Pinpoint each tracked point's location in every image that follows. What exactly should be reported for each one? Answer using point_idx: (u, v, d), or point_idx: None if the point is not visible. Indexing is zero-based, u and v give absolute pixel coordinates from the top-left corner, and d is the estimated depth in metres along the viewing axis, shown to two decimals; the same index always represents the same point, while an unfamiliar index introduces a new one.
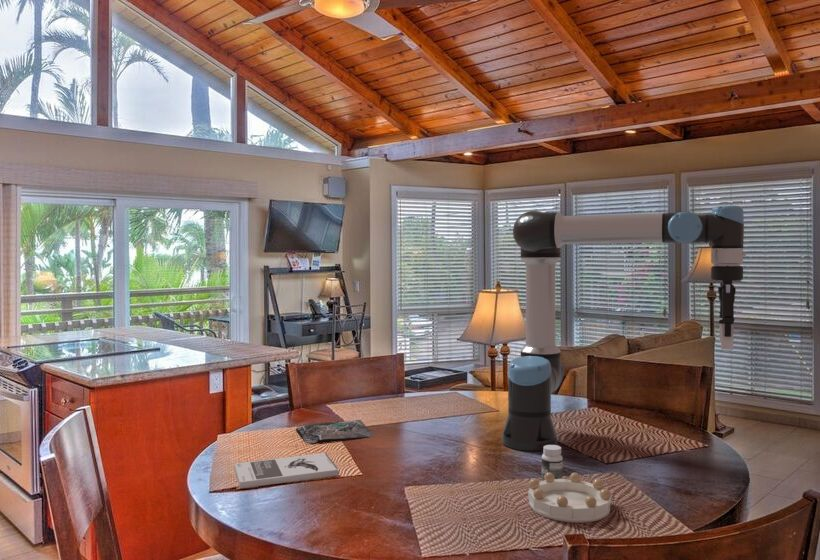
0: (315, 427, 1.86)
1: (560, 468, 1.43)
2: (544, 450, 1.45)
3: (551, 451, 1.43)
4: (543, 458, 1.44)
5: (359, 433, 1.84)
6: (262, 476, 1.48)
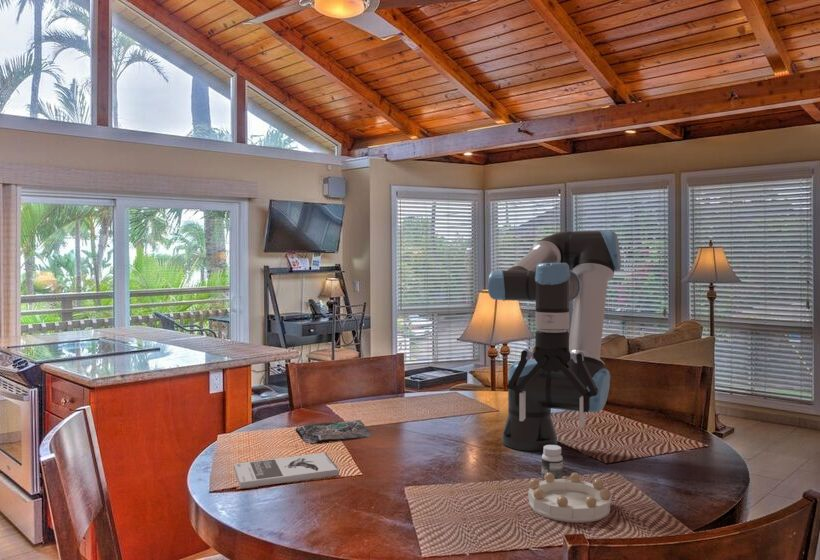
0: (315, 427, 1.86)
1: (560, 468, 1.43)
2: (544, 450, 1.45)
3: (551, 451, 1.43)
4: (543, 458, 1.44)
5: (358, 434, 1.84)
6: (262, 476, 1.48)
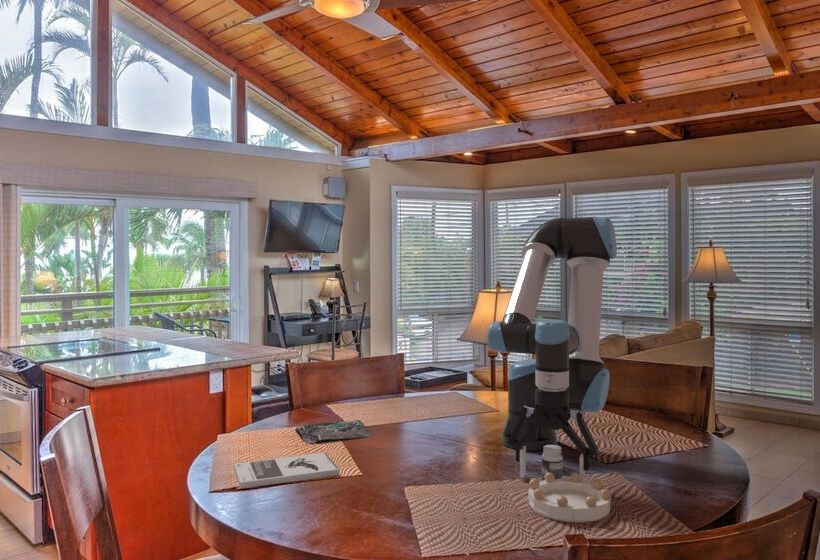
0: (314, 427, 1.86)
1: (560, 468, 1.43)
2: (544, 450, 1.45)
3: (551, 451, 1.43)
4: (543, 458, 1.44)
5: (358, 434, 1.84)
6: (262, 476, 1.47)
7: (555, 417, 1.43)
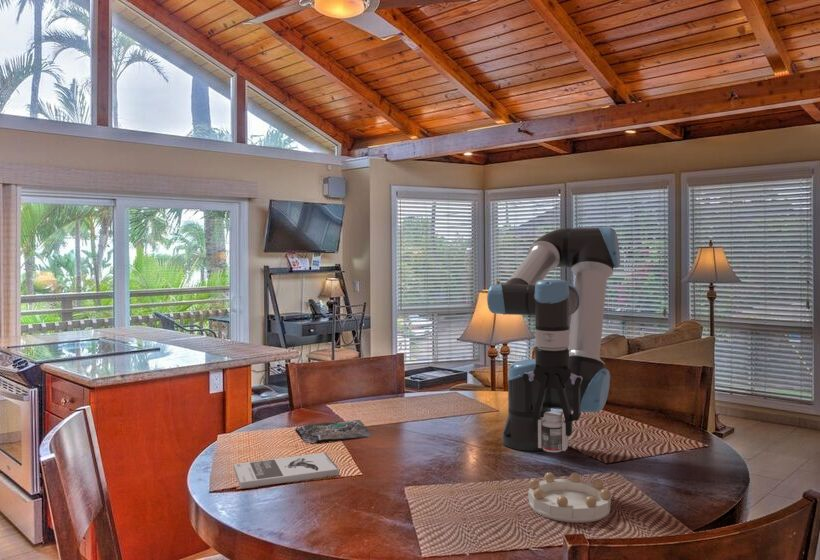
0: (314, 427, 1.86)
1: (560, 434, 1.43)
2: (544, 416, 1.45)
3: (552, 417, 1.43)
4: (543, 424, 1.44)
5: (358, 434, 1.84)
6: (262, 476, 1.47)
7: (556, 376, 1.42)
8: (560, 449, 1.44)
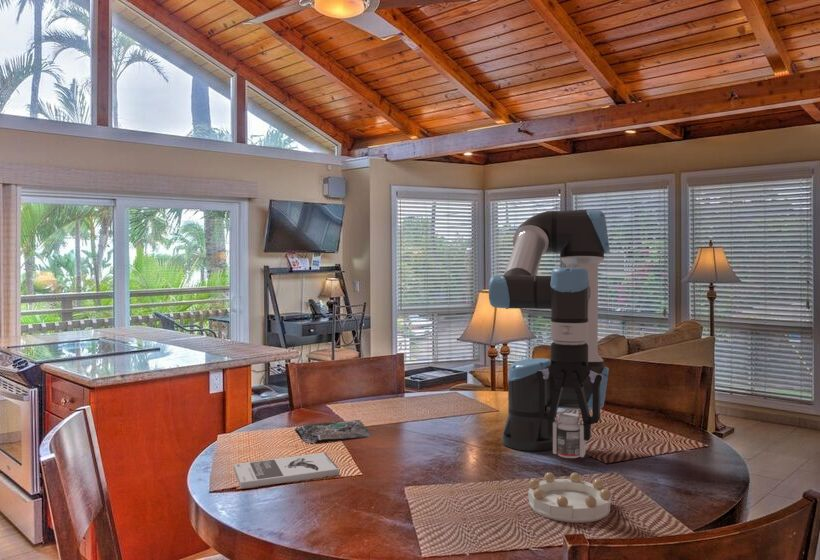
0: (314, 427, 1.86)
1: (578, 438, 1.29)
2: (560, 418, 1.31)
3: (568, 419, 1.29)
4: (559, 427, 1.30)
5: (358, 434, 1.84)
6: (262, 476, 1.47)
7: (573, 373, 1.29)
8: (578, 454, 1.29)
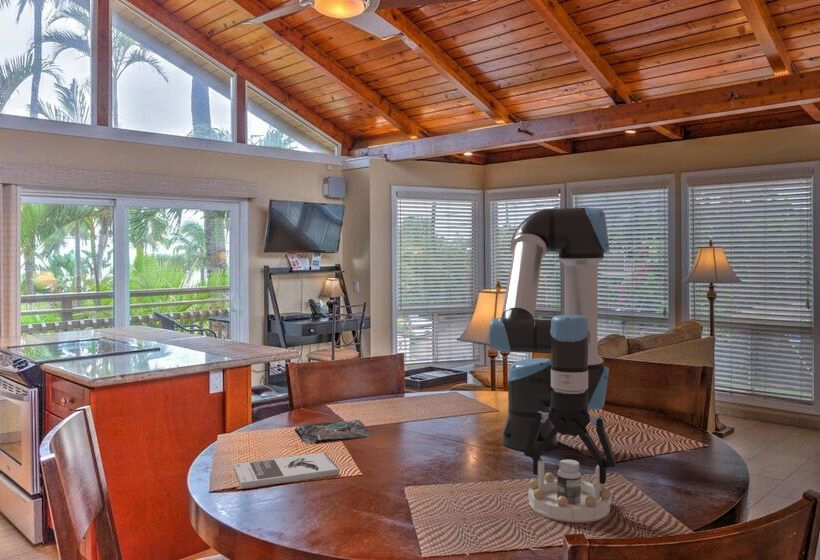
0: (314, 427, 1.86)
1: (578, 486, 1.30)
2: (560, 466, 1.31)
3: (568, 467, 1.29)
4: (559, 474, 1.31)
5: (358, 434, 1.84)
6: (263, 476, 1.47)
7: (573, 422, 1.29)
8: (578, 502, 1.30)
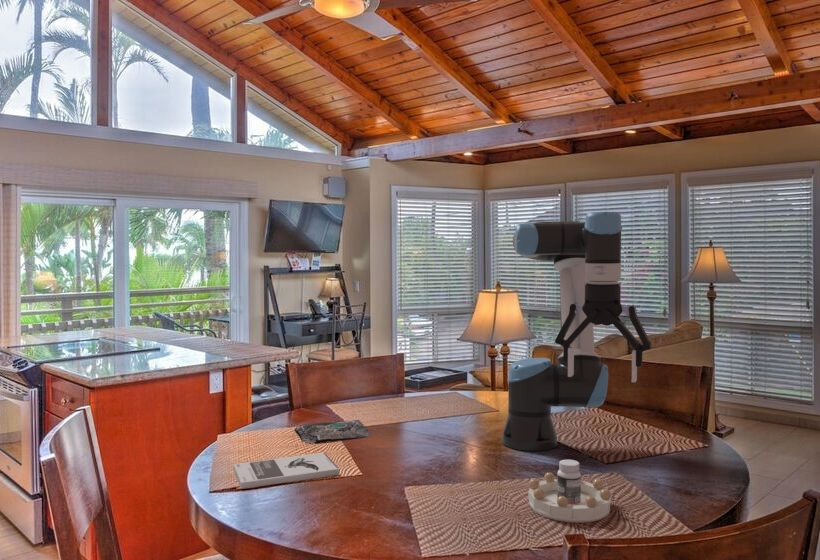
0: (314, 427, 1.86)
1: (578, 486, 1.30)
2: (560, 466, 1.31)
3: (568, 467, 1.29)
4: (559, 474, 1.31)
5: (357, 434, 1.85)
6: (263, 476, 1.47)
7: (606, 311, 1.36)
8: (578, 502, 1.30)
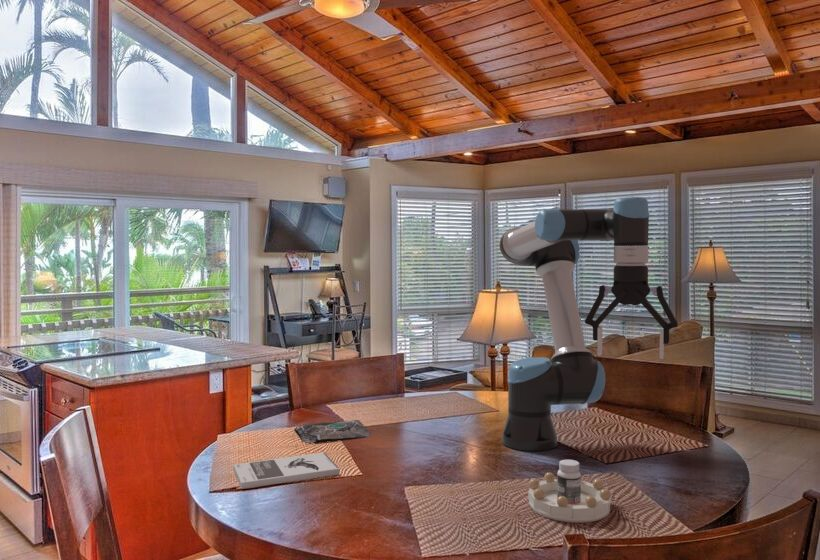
0: (313, 427, 1.86)
1: (578, 486, 1.30)
2: (560, 466, 1.31)
3: (568, 467, 1.29)
4: (559, 474, 1.31)
5: (357, 433, 1.85)
6: (263, 476, 1.47)
7: (635, 292, 1.44)
8: (578, 502, 1.30)
